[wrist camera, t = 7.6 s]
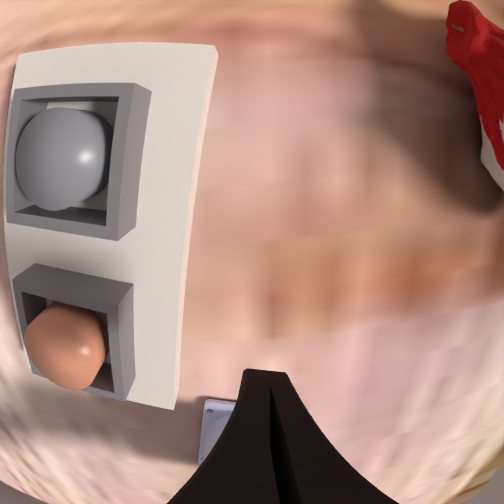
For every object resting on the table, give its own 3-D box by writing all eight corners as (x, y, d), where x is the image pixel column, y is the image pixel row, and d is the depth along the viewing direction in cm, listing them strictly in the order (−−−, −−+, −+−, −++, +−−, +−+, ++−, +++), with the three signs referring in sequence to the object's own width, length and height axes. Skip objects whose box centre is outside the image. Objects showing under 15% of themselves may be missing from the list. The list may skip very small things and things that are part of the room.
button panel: (178, 391, 22) (167, 436, 17) (40, 354, 21) (13, 388, 17) (218, 55, 15) (208, 28, 10) (36, 59, 14) (-7, 48, 10)
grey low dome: (113, 204, 15) (91, 216, 12) (41, 195, 14) (14, 205, 12) (124, 111, 13) (101, 106, 11) (48, 110, 13) (20, 109, 11)
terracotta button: (113, 371, 17) (99, 398, 15) (51, 353, 17) (33, 376, 15) (107, 307, 16) (89, 332, 13) (40, 291, 15) (17, 311, 13)
